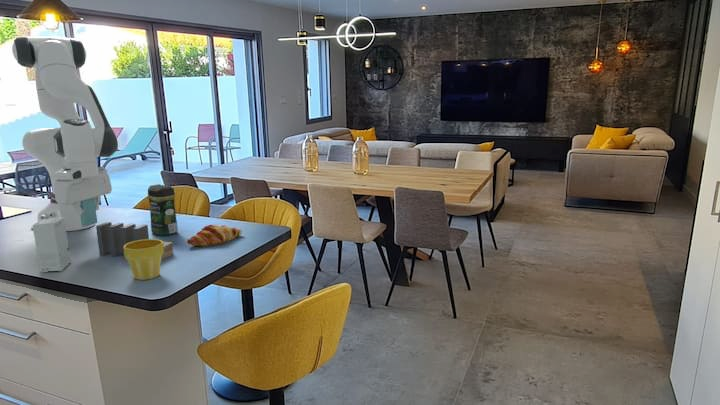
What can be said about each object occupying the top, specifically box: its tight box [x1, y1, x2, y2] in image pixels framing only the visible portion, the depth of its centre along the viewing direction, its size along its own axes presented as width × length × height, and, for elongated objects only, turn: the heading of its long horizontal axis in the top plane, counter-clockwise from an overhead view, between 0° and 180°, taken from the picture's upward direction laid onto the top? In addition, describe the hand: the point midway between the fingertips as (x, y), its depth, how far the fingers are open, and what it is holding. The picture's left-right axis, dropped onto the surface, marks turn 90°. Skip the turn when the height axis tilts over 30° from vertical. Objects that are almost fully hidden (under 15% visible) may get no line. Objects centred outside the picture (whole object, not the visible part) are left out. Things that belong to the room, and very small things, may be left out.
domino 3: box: [108, 222, 125, 258], centre depth 153 cm, size 2×5×10 cm, turn 168°
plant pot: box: [123, 238, 164, 281], centre depth 135 cm, size 10×10×10 cm
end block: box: [161, 241, 174, 261], centre depth 151 cm, size 4×8×4 cm, turn 168°
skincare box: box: [32, 217, 72, 273], centre depth 140 cm, size 8×6×15 cm
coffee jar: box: [147, 184, 179, 237], centre depth 176 cm, size 10×8×19 cm
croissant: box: [186, 224, 243, 247], centre depth 168 cm, size 21×10×8 cm, turn 138°
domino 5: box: [133, 223, 150, 241], centre depth 152 cm, size 2×5×10 cm, turn 168°
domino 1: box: [80, 198, 98, 227], centre depth 153 cm, size 2×5×10 cm, turn 168°
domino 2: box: [95, 221, 113, 257], centre depth 154 cm, size 2×5×10 cm, turn 168°
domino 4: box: [121, 223, 137, 259], centre depth 152 cm, size 2×5×10 cm, turn 168°
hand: (88, 212), depth 153 cm, fingers closed on domino 1, 5 cm apart
